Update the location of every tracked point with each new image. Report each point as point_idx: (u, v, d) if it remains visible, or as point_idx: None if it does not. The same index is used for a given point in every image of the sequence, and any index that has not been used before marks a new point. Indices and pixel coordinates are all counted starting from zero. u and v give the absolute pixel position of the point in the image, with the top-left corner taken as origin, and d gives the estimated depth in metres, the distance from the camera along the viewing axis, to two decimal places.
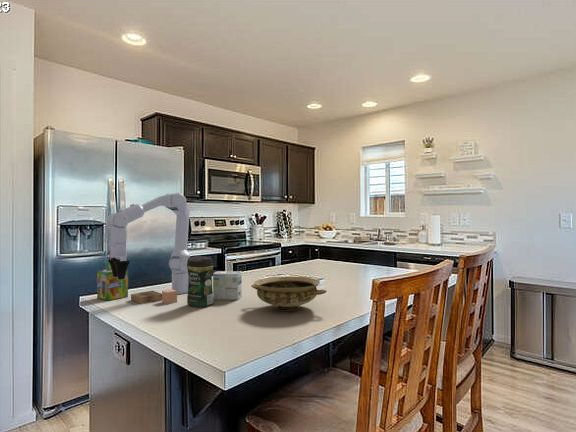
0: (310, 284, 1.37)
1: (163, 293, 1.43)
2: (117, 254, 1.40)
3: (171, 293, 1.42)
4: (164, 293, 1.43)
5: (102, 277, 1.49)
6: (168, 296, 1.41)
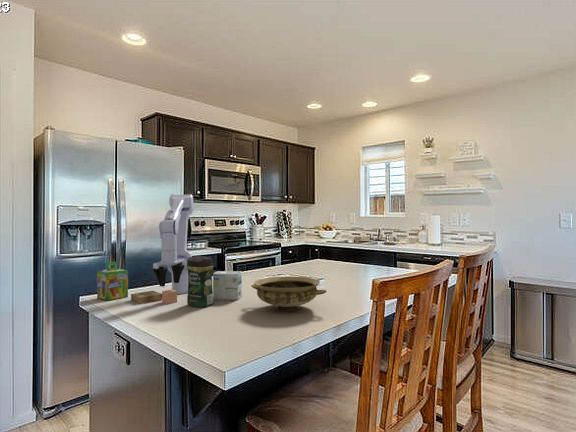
0: (310, 284, 1.37)
1: (163, 293, 1.43)
2: (162, 261, 1.42)
3: (171, 293, 1.42)
4: (164, 293, 1.43)
5: (102, 277, 1.49)
6: (168, 296, 1.41)
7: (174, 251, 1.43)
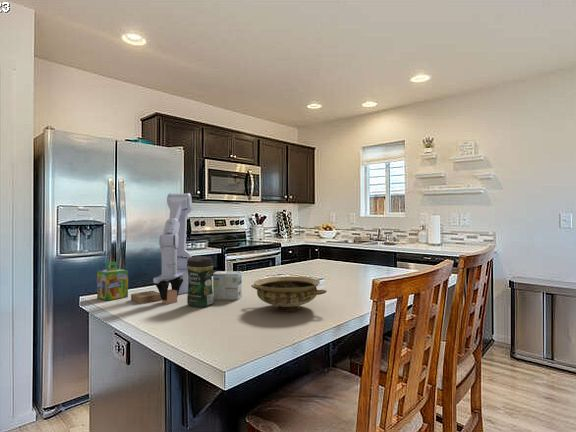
0: (310, 284, 1.37)
1: None
2: (162, 275, 1.42)
3: (171, 293, 1.42)
4: None
5: (102, 277, 1.49)
6: (168, 296, 1.41)
7: (174, 265, 1.43)
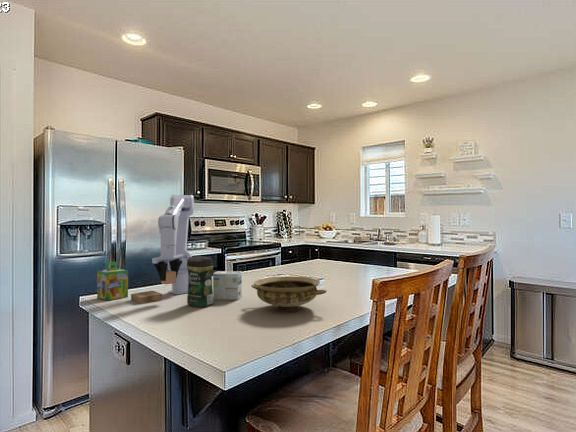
0: (310, 284, 1.37)
1: None
2: (161, 256, 1.42)
3: (170, 274, 1.42)
4: None
5: (102, 277, 1.49)
6: (167, 277, 1.42)
7: (173, 246, 1.43)
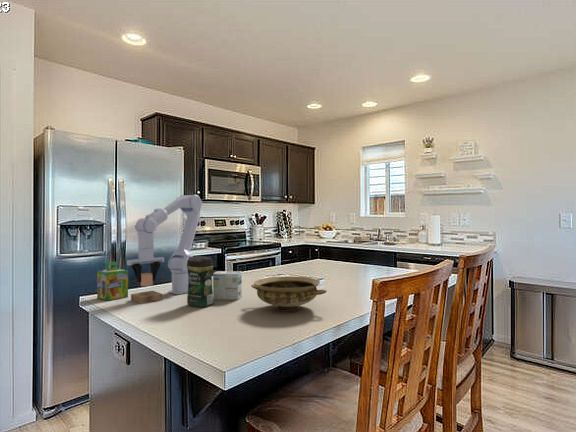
0: (310, 284, 1.37)
1: None
2: None
3: (146, 276, 1.46)
4: None
5: (102, 277, 1.49)
6: (143, 279, 1.45)
7: (149, 249, 1.46)
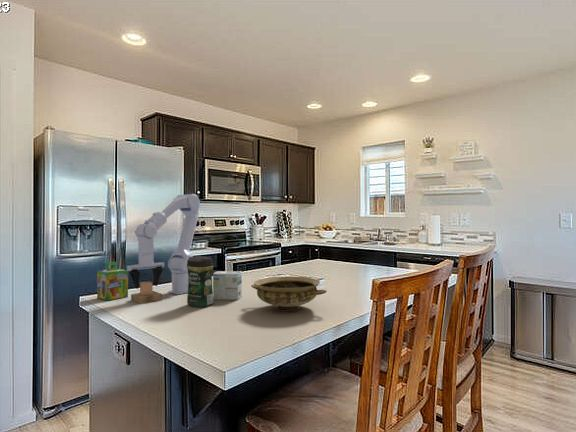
0: (310, 284, 1.37)
1: (140, 285, 1.47)
2: None
3: (146, 285, 1.46)
4: (140, 285, 1.47)
5: (102, 277, 1.49)
6: (143, 288, 1.45)
7: (149, 254, 1.46)
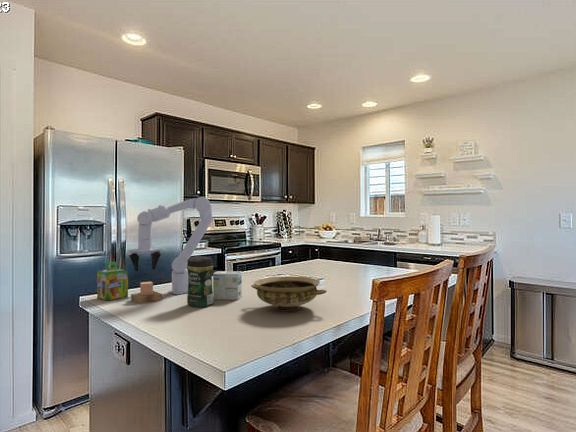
0: (310, 284, 1.37)
1: (140, 285, 1.47)
2: (138, 248, 1.58)
3: (146, 285, 1.46)
4: (141, 285, 1.46)
5: (102, 277, 1.49)
6: (143, 288, 1.45)
7: (148, 240, 1.58)
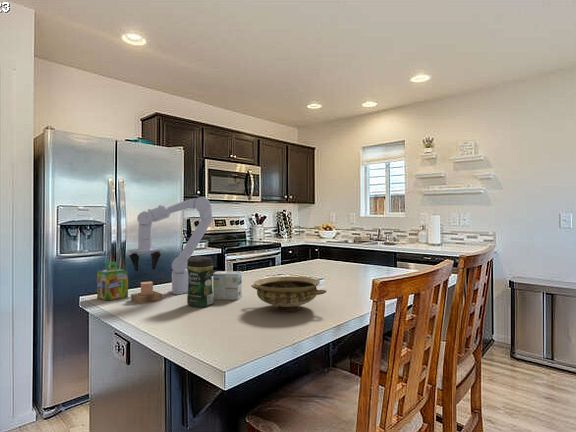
0: (310, 284, 1.37)
1: (141, 284, 1.48)
2: (138, 248, 1.58)
3: (146, 285, 1.46)
4: (141, 284, 1.47)
5: (102, 277, 1.49)
6: (143, 287, 1.45)
7: (148, 240, 1.58)
